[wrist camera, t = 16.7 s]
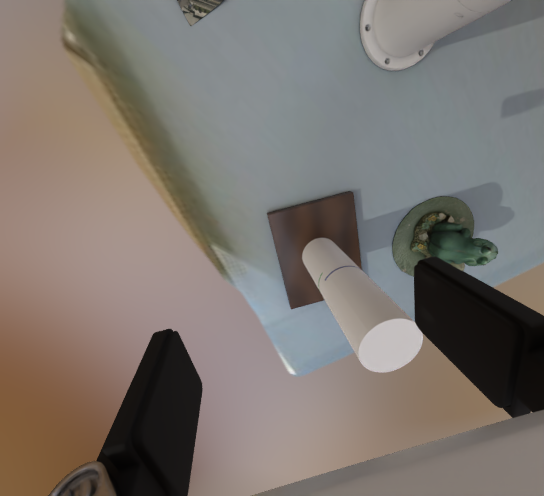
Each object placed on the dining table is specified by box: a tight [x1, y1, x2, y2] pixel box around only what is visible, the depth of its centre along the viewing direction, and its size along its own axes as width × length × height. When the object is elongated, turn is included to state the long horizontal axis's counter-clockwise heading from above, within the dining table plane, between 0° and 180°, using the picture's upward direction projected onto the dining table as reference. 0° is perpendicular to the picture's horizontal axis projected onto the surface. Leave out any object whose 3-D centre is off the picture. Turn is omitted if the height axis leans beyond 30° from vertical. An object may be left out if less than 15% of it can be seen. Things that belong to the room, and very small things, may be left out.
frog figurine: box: [393, 197, 498, 276], centre depth 49 cm, size 18×18×12 cm
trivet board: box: [267, 191, 362, 309], centre depth 51 cm, size 16×21×2 cm
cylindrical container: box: [302, 238, 423, 372], centre depth 39 cm, size 7×7×25 cm
